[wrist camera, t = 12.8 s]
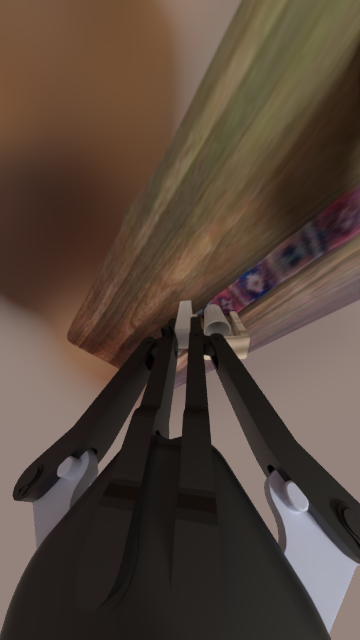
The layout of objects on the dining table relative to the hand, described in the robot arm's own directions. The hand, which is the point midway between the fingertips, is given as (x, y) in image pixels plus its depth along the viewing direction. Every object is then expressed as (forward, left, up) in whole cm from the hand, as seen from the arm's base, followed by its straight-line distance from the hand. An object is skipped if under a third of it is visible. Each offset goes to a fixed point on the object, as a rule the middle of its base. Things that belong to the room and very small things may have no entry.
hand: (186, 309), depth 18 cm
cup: (+16, +7, -27) cm, 32 cm away
